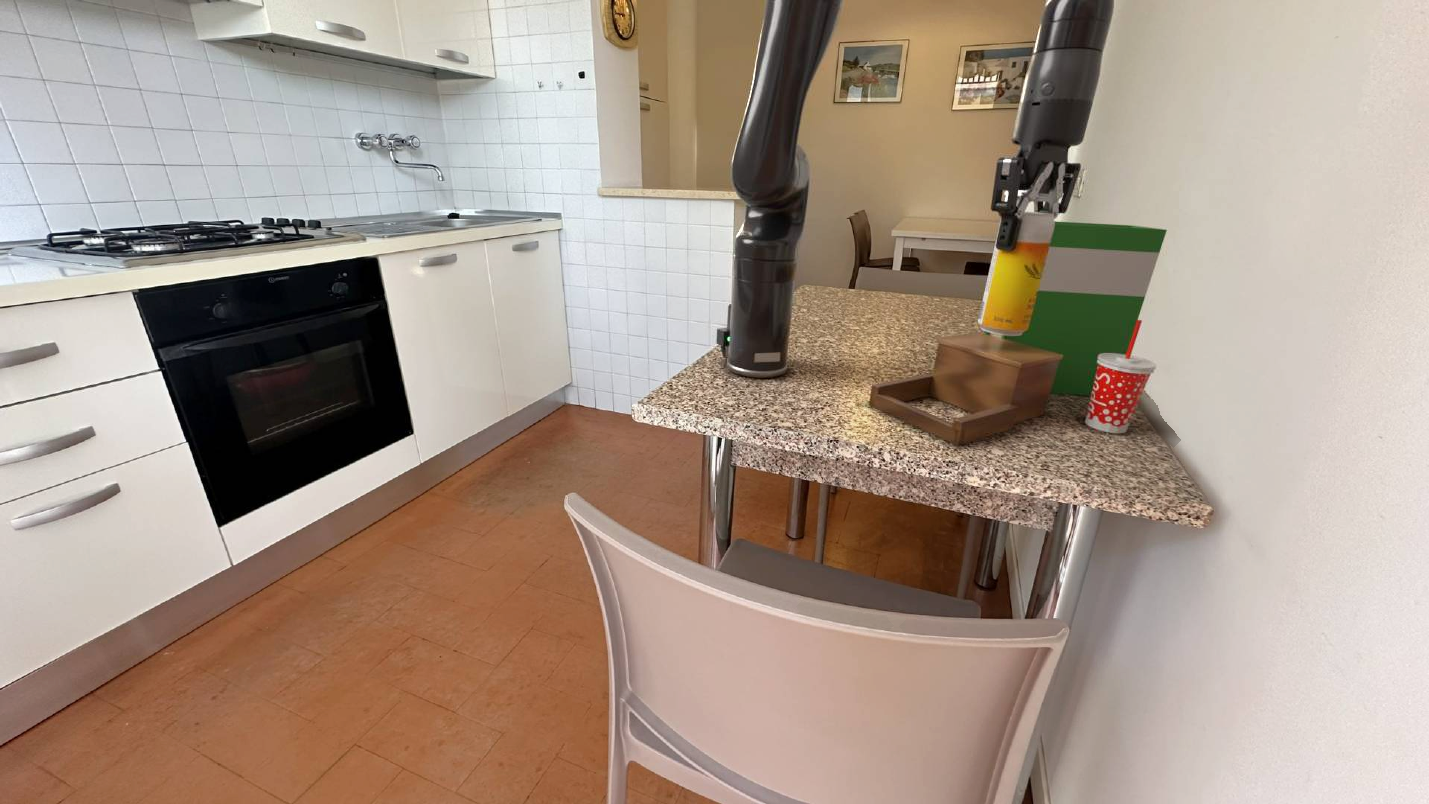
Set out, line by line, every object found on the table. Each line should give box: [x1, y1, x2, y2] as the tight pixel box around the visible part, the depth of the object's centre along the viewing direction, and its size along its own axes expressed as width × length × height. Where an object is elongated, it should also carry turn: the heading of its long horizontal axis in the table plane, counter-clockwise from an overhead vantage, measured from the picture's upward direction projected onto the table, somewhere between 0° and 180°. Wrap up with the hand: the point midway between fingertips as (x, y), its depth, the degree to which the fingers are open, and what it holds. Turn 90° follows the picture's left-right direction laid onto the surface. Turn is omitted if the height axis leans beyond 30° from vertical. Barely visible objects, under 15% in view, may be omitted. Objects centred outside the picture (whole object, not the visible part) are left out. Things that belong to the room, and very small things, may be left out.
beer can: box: [977, 211, 1055, 336], centre depth 73 cm, size 6×6×15 cm
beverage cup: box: [1084, 319, 1157, 434], centre depth 72 cm, size 6×6×14 cm
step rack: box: [868, 331, 1063, 447], centre depth 75 cm, size 14×20×8 cm
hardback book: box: [983, 220, 1168, 396], centre depth 85 cm, size 18×7×24 cm, turn 86°
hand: (1020, 248), depth 72 cm, fingers closed on beer can, 6 cm apart
